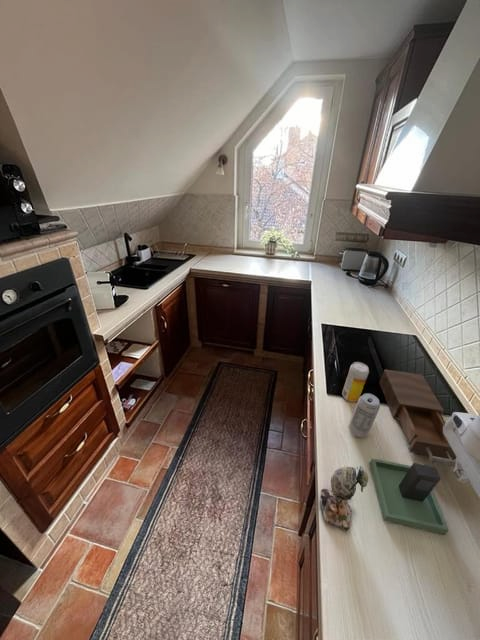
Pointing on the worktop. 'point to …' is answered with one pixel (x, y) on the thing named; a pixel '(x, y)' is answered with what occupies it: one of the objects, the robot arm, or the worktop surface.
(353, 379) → the beer can
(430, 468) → the dark grey block
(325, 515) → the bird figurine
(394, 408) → the cabinet
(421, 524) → the tray
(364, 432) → the energy drink can
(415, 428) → the drawer
